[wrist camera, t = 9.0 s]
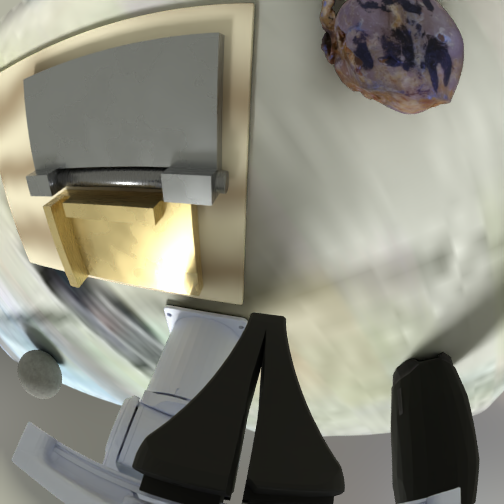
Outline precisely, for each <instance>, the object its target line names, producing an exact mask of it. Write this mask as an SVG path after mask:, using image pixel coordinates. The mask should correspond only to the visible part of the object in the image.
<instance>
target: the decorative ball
mask: <svg viewBox="0 0 504 504" xmlns="http://www.w3.org/2000/svg"><path fill="white" fill-rule="evenodd" d="M18 377H19V380H20V383H21V385H22V386H23V388H24V389H25V390H26V391H27V392H28V393H29V394H30V395H32V396H34V397H36V398H40V399H47V398H50V397H53V396H54V395H55V394H56V393H57V392H58V391H59V389H60V387H61V383H62V374H61V370H60V367H59V365H58V363H57V362H56V360H55V359H54V358H53V357H52V356H51V355H49V354H48V353H46V352H44V351H41V350H32V351H29V352H27V353H25V354H24V355H23V356H22V357H21V359H20V361H19V364H18Z"/></svg>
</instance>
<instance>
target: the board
mask: <svg viewBox="0 0 504 504" xmlns="http://www.w3.org/2000/svg"><path fill="white" fill-rule="evenodd" d="M254 10H255V5H254V4H253V3H235V4H216V5H204V6H195V7H187V8H179V9H173V10H167V11H161V12H156V13H151V14H146V15H142V16H137V17H133V18H129V19H125V20H122V21H118V22H114V23H111V24H108V25H104V26H101V27H98V28H95V29H92V30H89V31H86V32H84V33H81V34H78V35H76V36H73V37H70V38H68V39H65V40H63V41H61V42H58V43H56V44H54V45H51V46H49V47H47V48H45V49H43V50H41V51H39V52H37V53H35V54H33V55H31V56H29V57H27V58H25V59H23V60H21V61H19V62H17V63H16V64H14V65H12V66H10V67H9V68H7V69H5V70H4V71H2V72H0V173H1V178H2V182H3V185H4V189H5V193H6V196H7V200H8V203H9V206H10V210H11V213H12V216H13V219H14V222H15V225H16V227H17V230H18V233H19V236H20V238H21V241H22V244H23V246H24V249H25V251H26V254H27V256H28V258H29V261H30V262H31V263H35V264H38V265H42V266H46V267H50V268H54V269H58V270H62V271H65V270H64V267H63V265H62V262H61V260H60V257H59V255H58V252H57V249H56V246H55V244H54V241H53V238H52V235H51V232H50V229H49V226H48V223H47V219H46V216H45V213H44V209H43V206H44V205H45V204H46V203H48V202H49V201H50V200H52V199H53V198H54V197H56V196H57V195H59V194H60V193H61V192H63V191H64V190H113V191H138V192H157V193H163V190H162V189H145V188H119V187H65V188H63V189H62V190H60V191H59V192H58V193H56V194H55V195H54V196H52V197H49V196H30V192H29V188H28V184H27V180H26V176H27V175H29V174H30V173H32V172H33V171H35V167H34V162H33V157H32V152H31V146H30V140H29V134H28V127H27V119H26V110H25V100H24V85H23V79H25V78H27V77H30V76H32V75H34V74H36V73H39V72H41V71H44V70H46V69H49V68H51V67H54V66H56V65H59V64H62V63H64V62H67V61H70V60H73V59H76V58H79V57H82V56H85V55H89V54H92V53H95V52H99V51H103V50H106V49H110V48H114V47H118V46H123V45H127V44H132V43H137V42H142V41H147V40H153V39H159V38H166V37H173V36H181V35H190V34H202V33H218V32H219V33H221V34H223V35H225V39H224V67H223V109H222V170H226V171H228V172H229V186H228V190H227V193H226V194H221V193H220V194H219V195H218V197H217V198H216V200H215V202H214V203H213V205H212V206H207V205H197V209H198V225H199V240H200V253H201V265H202V277H203V288H202V291H201V293H200V296H194V295H188V294H182V293H176V292H171V291H165V290H160V289H154V288H149V287H144V286H139V285H133V284H128V283H124V282H119V281H114V280H109V279H104V278H100V277H95V276H91V275H88V277H92V278H96V279H101V280H105V281H110V282H115V283H120V284H124V285H129V286H134V287H139V288H144V289H150V290H155V291H160V292H166V293H171V294H177V295H182V296H188V297H194V298H200V299H206V300H212V301H219V302H225V303H232V304H239V305H242V303H243V291H244V258H245V228H246V199H247V171H248V145H249V120H250V96H251V73H252V51H253V31H254ZM118 167H147V166H118ZM81 168H99V167H81ZM163 168H169V167H163ZM67 169H72V168H67Z"/></svg>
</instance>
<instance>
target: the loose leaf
mask: <svg viewBox="0 0 504 504" xmlns="http://www.w3.org/2000/svg"><path fill="white" fill-rule="evenodd" d="M43 209H44V213H45V216H46V219H47V223H48V226H49V229H50V232H51V235H52V238H53V241H54V244H55V246H56V249H57V252H58V255H59V257H60V260H61V262H62V265H63V267H64V270H65V272H66V275H67V277H68V280H69V282H70V284H71V286H74V287H78V288H79V287H80V286H81V284H82V283H83V282H84V280H85V279H86V278H87V277H88V275H91V276H95V277H100V278H104V279H109V280H114V281H119V282H124V283H128V284H133V285H139V286H144V287H149V288H154V289H160V290H165V291H171V292H176V293H182V294H188V295H194V296H200V293H201V291H202V288H203V277H202V265H201V253H200V240H199V225H198V209H197V205H196V204H184V203H171V202H164V199H163V193H157V192H138V191H113V190H64V191H63V192H61V193H60V194H59V195H57V196H56V197H54V198H53V199H52V200H50V201H49V202H48V203H46V204H45V205H44V206H43Z"/></svg>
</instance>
